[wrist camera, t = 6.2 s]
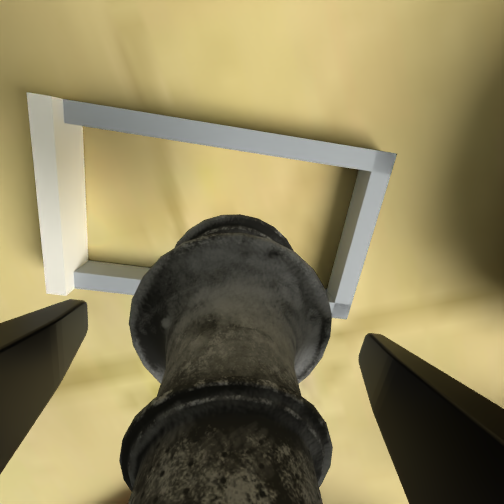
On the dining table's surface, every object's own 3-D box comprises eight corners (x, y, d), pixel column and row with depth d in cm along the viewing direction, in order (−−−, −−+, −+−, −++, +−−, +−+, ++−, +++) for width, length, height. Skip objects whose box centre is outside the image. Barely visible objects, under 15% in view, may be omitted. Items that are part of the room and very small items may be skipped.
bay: (71, 273, 22) (46, 293, 19) (60, 99, 18) (26, 92, 15) (338, 304, 23) (351, 327, 20) (381, 152, 19) (405, 154, 16)
